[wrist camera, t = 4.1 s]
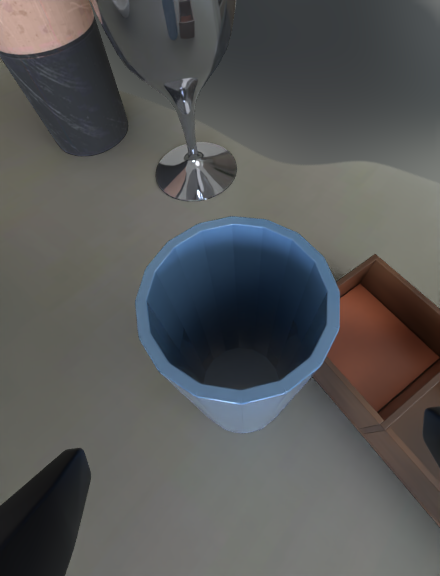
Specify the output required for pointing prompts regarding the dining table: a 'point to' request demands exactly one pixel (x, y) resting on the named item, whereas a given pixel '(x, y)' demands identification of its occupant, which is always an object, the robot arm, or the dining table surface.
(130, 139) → the dining table surface
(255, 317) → the tumbler
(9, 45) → the travel mug
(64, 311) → the dining table surface
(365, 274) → the caddy
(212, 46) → the wine glass
